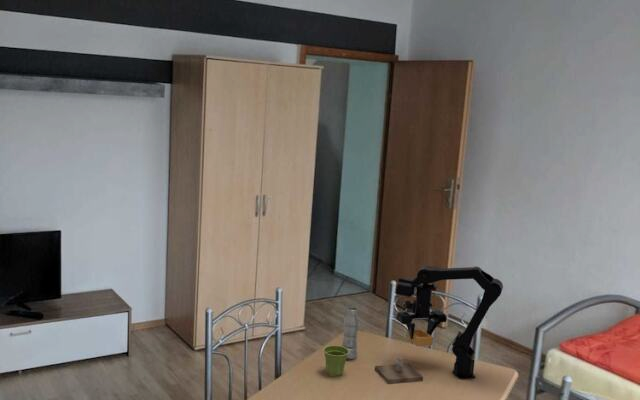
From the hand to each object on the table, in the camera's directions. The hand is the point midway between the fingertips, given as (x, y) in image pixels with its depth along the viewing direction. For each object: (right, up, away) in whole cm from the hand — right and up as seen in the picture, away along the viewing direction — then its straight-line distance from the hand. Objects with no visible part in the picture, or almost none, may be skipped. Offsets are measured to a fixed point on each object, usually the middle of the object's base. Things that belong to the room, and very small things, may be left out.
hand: (419, 338), depth 252 cm
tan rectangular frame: (0, -1, 0) cm, 1 cm away
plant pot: (-33, -11, -10) cm, 36 cm away
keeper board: (-9, -12, -8) cm, 17 cm away
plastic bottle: (-27, -9, +5) cm, 29 cm away
